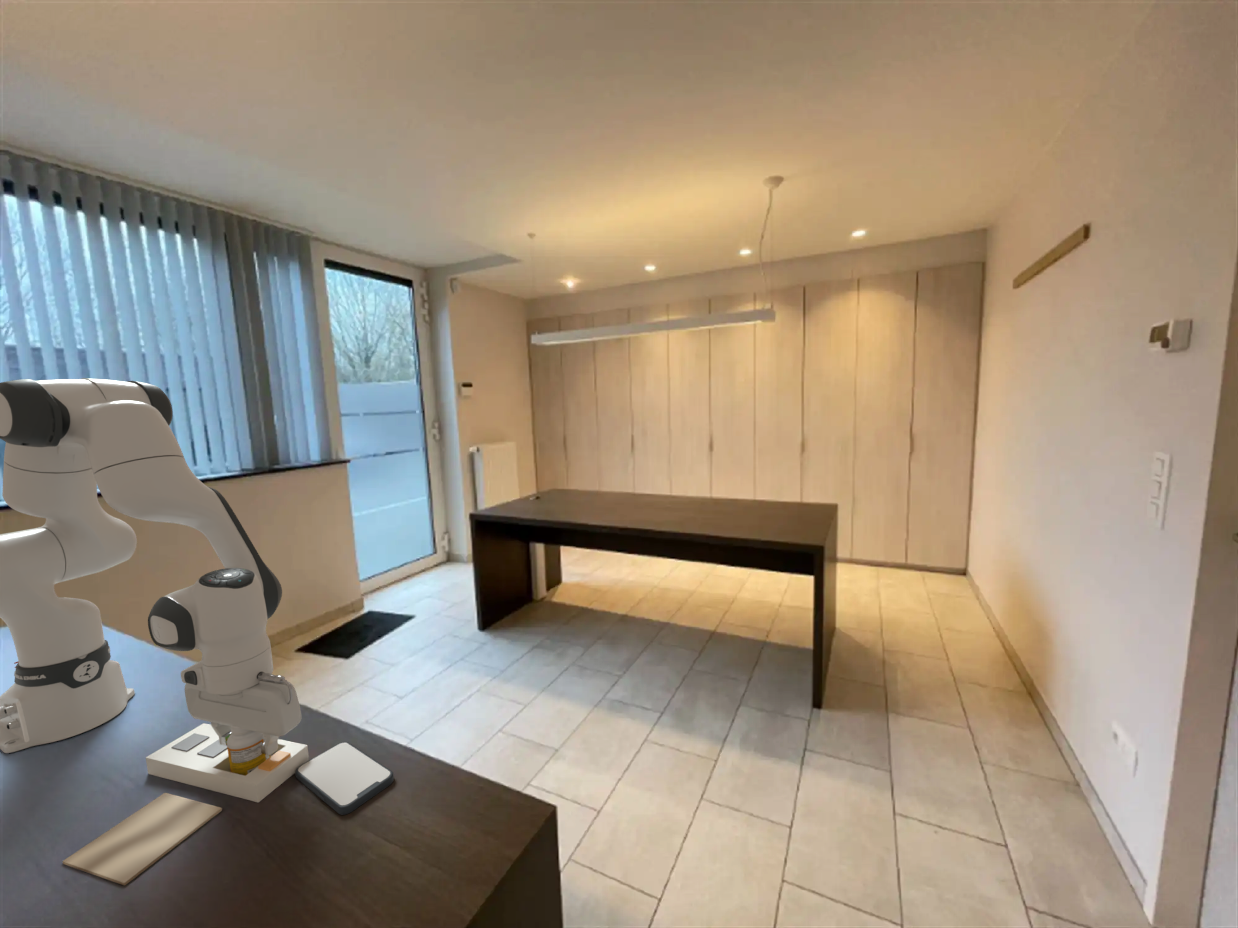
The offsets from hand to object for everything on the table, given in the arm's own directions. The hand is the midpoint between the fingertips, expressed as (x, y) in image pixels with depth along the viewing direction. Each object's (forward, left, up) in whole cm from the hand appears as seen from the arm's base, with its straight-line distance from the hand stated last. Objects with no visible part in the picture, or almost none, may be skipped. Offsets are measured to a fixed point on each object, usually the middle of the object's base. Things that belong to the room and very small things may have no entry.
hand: (249, 747), depth 81 cm
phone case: (+16, +3, -5) cm, 17 cm away
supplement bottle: (0, 0, -5) cm, 5 cm away
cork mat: (-3, -13, -5) cm, 14 cm away
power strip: (-5, 0, -5) cm, 7 cm away
